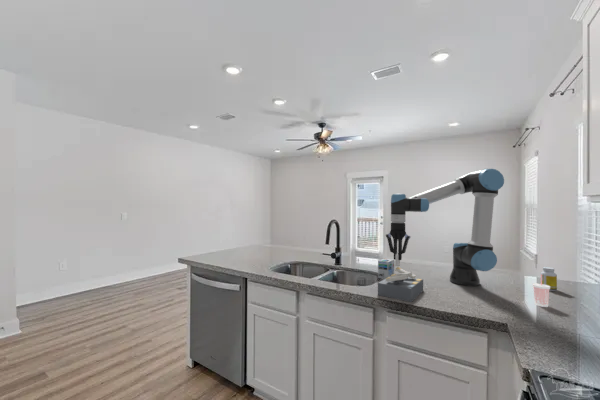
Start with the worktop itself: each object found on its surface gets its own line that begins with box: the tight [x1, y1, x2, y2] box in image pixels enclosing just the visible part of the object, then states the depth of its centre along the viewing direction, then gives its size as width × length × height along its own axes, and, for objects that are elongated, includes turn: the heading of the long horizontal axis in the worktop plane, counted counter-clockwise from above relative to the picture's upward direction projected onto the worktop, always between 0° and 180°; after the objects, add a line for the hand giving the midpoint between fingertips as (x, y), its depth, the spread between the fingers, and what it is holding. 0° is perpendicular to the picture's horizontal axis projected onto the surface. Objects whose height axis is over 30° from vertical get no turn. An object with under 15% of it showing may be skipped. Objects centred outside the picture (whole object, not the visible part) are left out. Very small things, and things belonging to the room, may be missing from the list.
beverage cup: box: [532, 273, 550, 308], centre depth 128 cm, size 6×6×14 cm
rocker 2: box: [390, 271, 413, 277], centre depth 144 cm, size 10×4×2 cm, turn 53°
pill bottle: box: [540, 266, 558, 292], centre depth 152 cm, size 6×6×12 cm
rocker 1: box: [386, 275, 408, 282], centre depth 139 cm, size 10×4×2 cm, turn 53°
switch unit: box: [377, 276, 424, 303], centre depth 144 cm, size 16×22×7 cm
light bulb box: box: [377, 257, 395, 280], centre depth 174 cm, size 11×7×11 cm, turn 143°
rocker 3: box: [394, 266, 417, 279], centre depth 150 cm, size 10×4×2 cm, turn 53°
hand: (397, 265), depth 152 cm, fingers closed
